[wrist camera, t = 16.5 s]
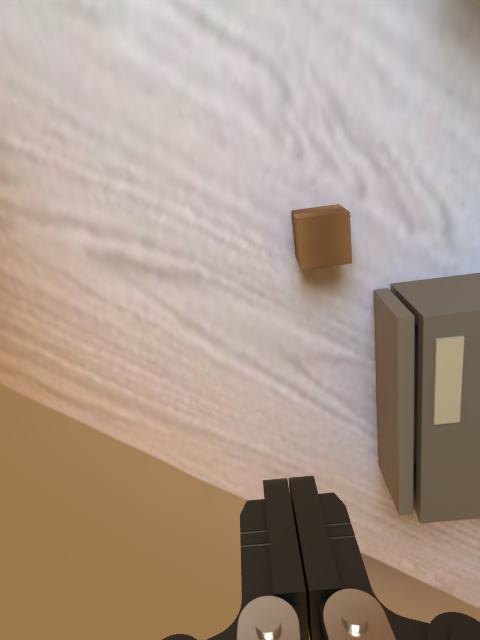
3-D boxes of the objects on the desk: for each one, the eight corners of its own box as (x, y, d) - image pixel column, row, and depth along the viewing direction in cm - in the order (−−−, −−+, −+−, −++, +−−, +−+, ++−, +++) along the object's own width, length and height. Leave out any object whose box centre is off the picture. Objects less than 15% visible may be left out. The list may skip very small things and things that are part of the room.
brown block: (295, 256, 31) (300, 269, 28) (291, 210, 30) (296, 218, 27) (341, 250, 31) (351, 263, 28) (338, 204, 30) (349, 212, 27)
